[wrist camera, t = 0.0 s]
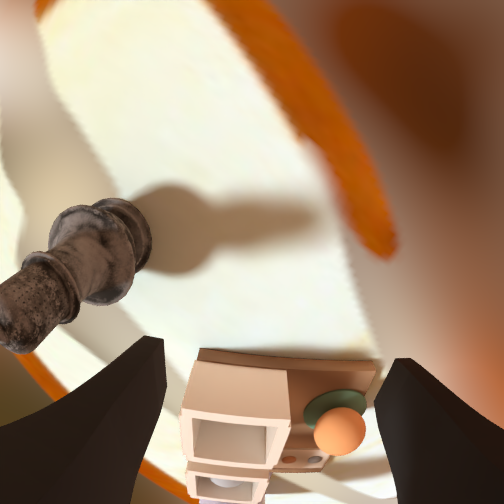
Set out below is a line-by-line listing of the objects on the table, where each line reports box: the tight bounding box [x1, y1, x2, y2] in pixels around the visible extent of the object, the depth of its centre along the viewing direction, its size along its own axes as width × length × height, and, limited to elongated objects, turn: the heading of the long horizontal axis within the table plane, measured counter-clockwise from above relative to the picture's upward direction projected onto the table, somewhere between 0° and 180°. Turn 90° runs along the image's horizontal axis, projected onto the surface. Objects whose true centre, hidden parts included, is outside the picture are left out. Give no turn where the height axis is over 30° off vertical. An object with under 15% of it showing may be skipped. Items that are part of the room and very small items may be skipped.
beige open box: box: [179, 360, 291, 469], centre depth 18 cm, size 7×7×4 cm
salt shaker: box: [0, 198, 152, 354], centre depth 12 cm, size 6×6×12 cm
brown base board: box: [197, 348, 376, 473], centre depth 23 cm, size 16×14×2 cm
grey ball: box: [209, 477, 244, 488], centre depth 22 cm, size 4×4×4 cm
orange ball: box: [314, 407, 366, 456], centre depth 19 cm, size 4×4×4 cm
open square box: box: [185, 461, 269, 504], centre depth 21 cm, size 7×7×4 cm
